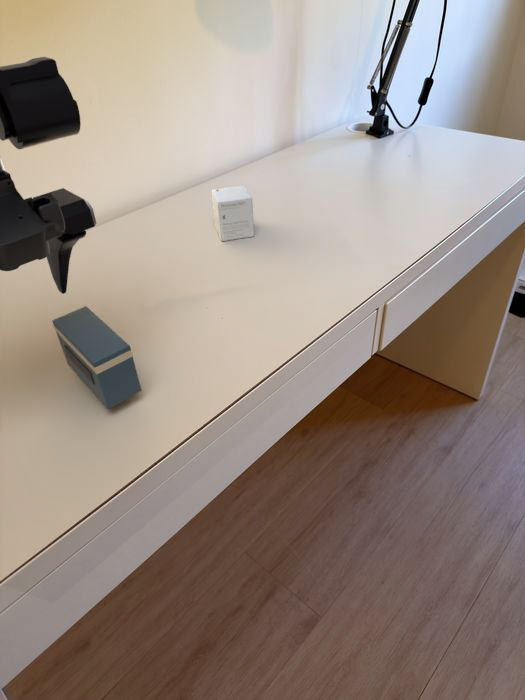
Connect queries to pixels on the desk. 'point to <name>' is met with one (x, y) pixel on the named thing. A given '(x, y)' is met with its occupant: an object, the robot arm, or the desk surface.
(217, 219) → the product box
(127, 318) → the desk surface
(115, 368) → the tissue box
